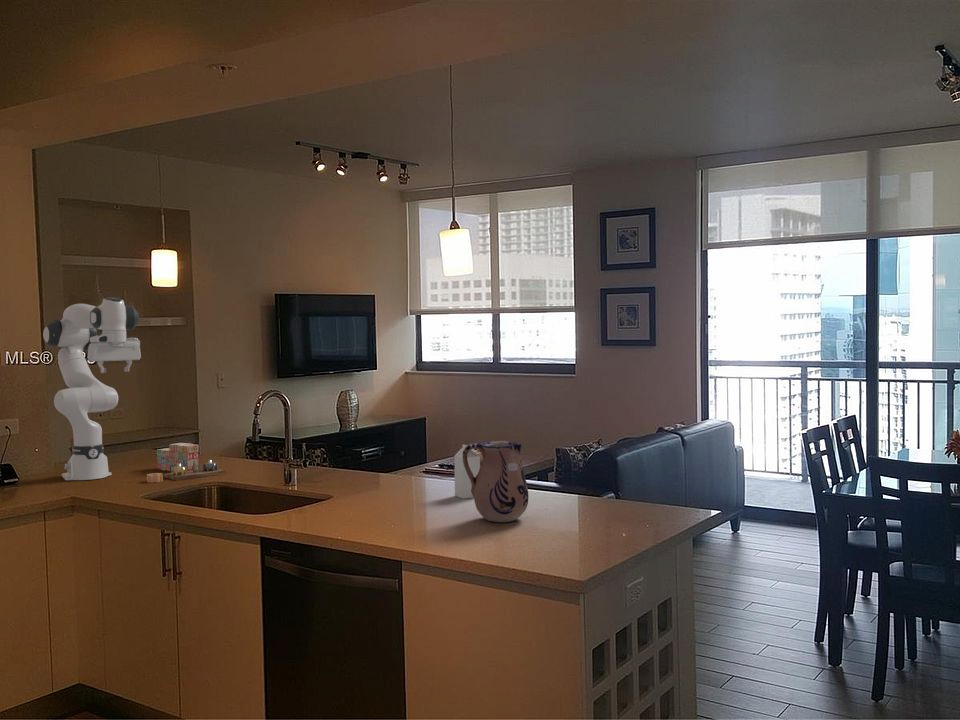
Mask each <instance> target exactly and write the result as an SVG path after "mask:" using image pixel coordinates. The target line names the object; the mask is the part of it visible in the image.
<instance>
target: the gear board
mask: <svg viewBox="0 0 960 720" xmlns="http://www.w3.org/2000/svg"><path fill="white" fill-rule="evenodd" d="M222 473H225V474H226V470H223V469H219V468H218V470H215V471H203V468H199V469H198V470H197V462H196V460H194V461H193V470H190V471H187V474H184V475H172V472H168V473H164V474H163V478H167V479H169V480H173V481H183V480H191V479H199V477H200V478H206V477H205V476H207V477H212V476H211V475H215V476H218V475H217V474H222ZM222 475H223V474H222Z"/></svg>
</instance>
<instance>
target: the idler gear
mask: <svg viewBox="0 0 960 720" xmlns="http://www.w3.org/2000/svg"><path fill="white" fill-rule="evenodd" d="M163 478H164V474H163V472H154V473H153V472H152V473H146V482H147V483H151V484H155V483H160V482H164V479H163Z"/></svg>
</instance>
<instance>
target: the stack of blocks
mask: <svg viewBox="0 0 960 720" xmlns="http://www.w3.org/2000/svg"><path fill="white" fill-rule="evenodd" d="M199 445H200V444H195V443H186V442H178V443H177V442H176V443H170V444H169V447H165V448H160V449H159V448H158V449H156V463H157V464H156V465H157V466H156V467H157V470H159V471H165V470H167V471H166V472H172V468H171V467H175V466H177V464H179V463H181V466H187V471H190V470H193V461H194V460H196V462H197V470H198V469H200V468H199V467H200V465H199V464H200V462H199V461H200V460H199V456H200V455H199V454H200V453H199Z"/></svg>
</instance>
